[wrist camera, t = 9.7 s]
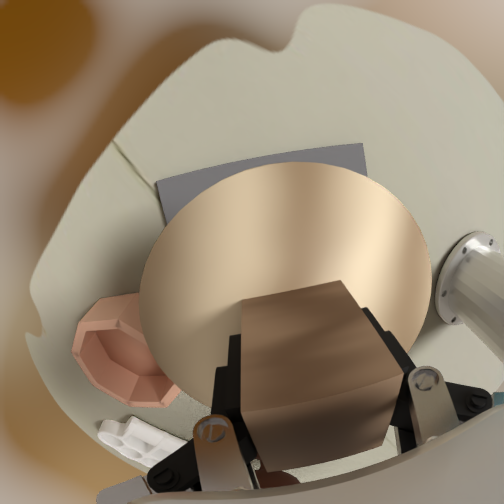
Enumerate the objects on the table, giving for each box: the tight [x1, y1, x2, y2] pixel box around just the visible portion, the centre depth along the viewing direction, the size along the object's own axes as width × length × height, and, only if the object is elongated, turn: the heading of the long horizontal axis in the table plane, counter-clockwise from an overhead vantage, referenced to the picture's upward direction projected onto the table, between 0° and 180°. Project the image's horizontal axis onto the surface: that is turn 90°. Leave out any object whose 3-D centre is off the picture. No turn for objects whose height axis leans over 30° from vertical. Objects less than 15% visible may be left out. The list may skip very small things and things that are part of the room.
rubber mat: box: [156, 143, 367, 225], centre depth 24 cm, size 18×16×1 cm
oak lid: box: [139, 162, 432, 472], centre depth 10 cm, size 15×15×7 cm
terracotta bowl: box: [71, 293, 181, 407], centre depth 25 cm, size 12×12×5 cm
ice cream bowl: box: [255, 453, 300, 489], centre depth 29 cm, size 11×11×15 cm
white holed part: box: [97, 416, 187, 468], centre depth 35 cm, size 3×18×15 cm
